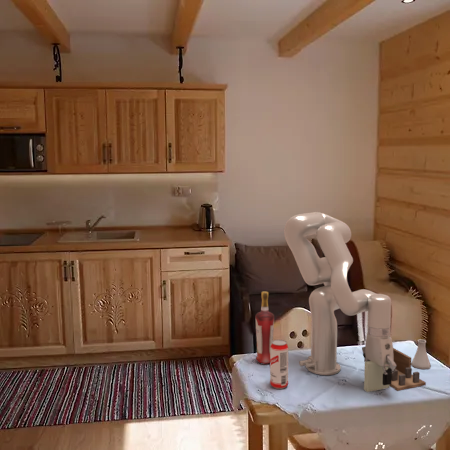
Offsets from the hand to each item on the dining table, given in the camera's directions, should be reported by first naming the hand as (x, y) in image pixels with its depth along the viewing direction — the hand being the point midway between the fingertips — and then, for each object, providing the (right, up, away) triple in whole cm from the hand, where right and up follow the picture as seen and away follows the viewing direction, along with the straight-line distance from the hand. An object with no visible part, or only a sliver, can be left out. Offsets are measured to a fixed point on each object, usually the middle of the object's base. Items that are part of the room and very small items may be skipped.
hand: (377, 378), depth 175 cm
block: (0, -4, +1) cm, 4 cm away
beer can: (-34, -4, +3) cm, 34 cm away
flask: (+22, -1, +19) cm, 29 cm away
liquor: (-37, -1, +24) cm, 44 cm away
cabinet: (+9, -2, +9) cm, 13 cm away
